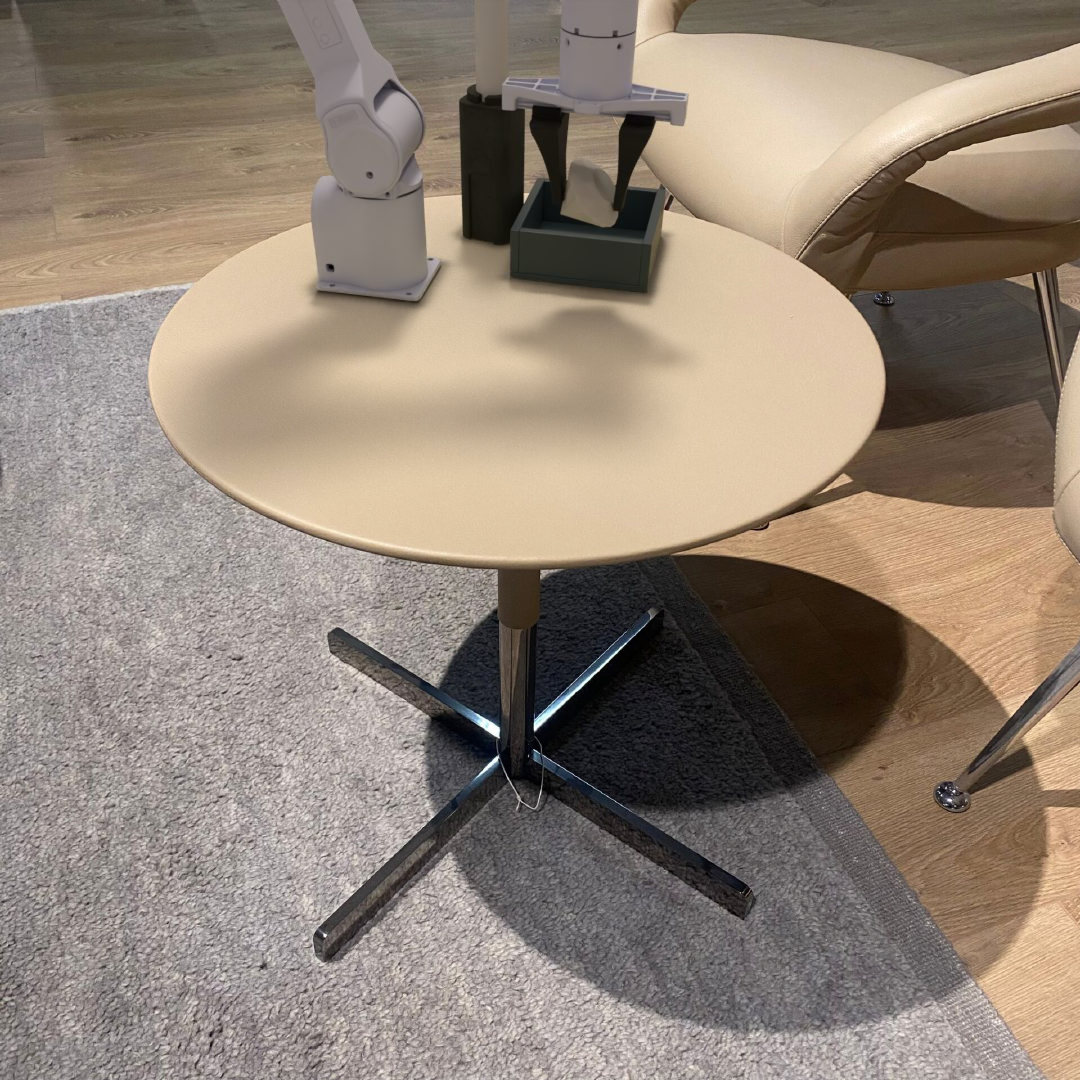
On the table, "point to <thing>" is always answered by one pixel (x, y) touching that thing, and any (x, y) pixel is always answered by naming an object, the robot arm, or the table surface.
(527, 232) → the bin
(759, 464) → the table surface
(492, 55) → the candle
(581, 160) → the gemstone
